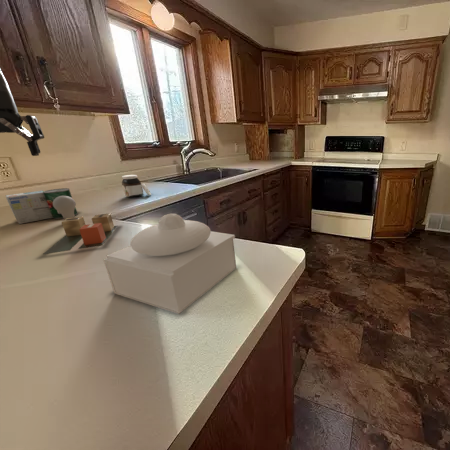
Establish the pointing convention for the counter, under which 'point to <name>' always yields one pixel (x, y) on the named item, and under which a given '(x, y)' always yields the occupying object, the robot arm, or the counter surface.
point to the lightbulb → (65, 206)
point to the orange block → (92, 233)
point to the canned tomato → (55, 193)
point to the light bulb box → (29, 206)
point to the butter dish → (171, 263)
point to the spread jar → (133, 186)
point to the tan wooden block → (104, 221)
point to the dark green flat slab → (74, 243)
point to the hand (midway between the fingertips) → (15, 156)
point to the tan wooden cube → (73, 225)
